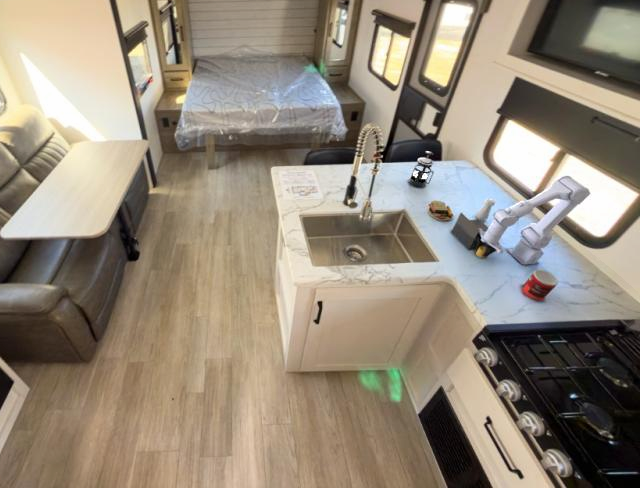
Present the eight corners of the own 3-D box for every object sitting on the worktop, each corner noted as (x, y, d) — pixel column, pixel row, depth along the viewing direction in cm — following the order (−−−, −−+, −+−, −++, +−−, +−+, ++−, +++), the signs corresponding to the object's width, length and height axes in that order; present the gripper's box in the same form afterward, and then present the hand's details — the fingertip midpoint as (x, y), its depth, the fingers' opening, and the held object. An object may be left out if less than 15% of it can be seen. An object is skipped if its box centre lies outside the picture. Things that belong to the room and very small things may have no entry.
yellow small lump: (487, 257, 154) (491, 251, 151) (479, 258, 153) (483, 252, 151) (481, 251, 157) (484, 245, 155) (473, 252, 157) (477, 246, 154)
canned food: (533, 285, 141) (547, 269, 134) (548, 301, 134) (563, 284, 128) (516, 285, 140) (529, 269, 134) (530, 301, 134) (545, 285, 127)
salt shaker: (487, 223, 173) (499, 204, 166) (476, 221, 174) (487, 203, 167) (483, 216, 178) (494, 197, 170) (472, 214, 179) (482, 196, 171)
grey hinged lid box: (491, 246, 159) (498, 236, 155) (468, 249, 158) (474, 239, 154) (473, 229, 170) (478, 219, 165) (451, 231, 168) (456, 221, 164)
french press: (405, 183, 204) (417, 152, 191) (411, 177, 210) (422, 146, 196) (424, 190, 198) (438, 159, 184) (429, 184, 203) (443, 153, 189)
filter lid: (479, 230, 150) (479, 230, 150) (474, 239, 154) (474, 239, 154) (461, 212, 161) (460, 212, 160) (456, 221, 164) (456, 221, 164)
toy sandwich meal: (430, 220, 176) (433, 213, 173) (424, 205, 186) (427, 198, 183) (455, 223, 173) (458, 216, 171) (448, 207, 184) (451, 201, 181)
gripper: (475, 222, 152) (463, 242, 160) (499, 244, 140) (485, 265, 148) (488, 221, 152) (476, 241, 160) (513, 243, 141) (498, 263, 149)
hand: (481, 252), depth 154 cm, fingers closed on yellow small lump, 4 cm apart
